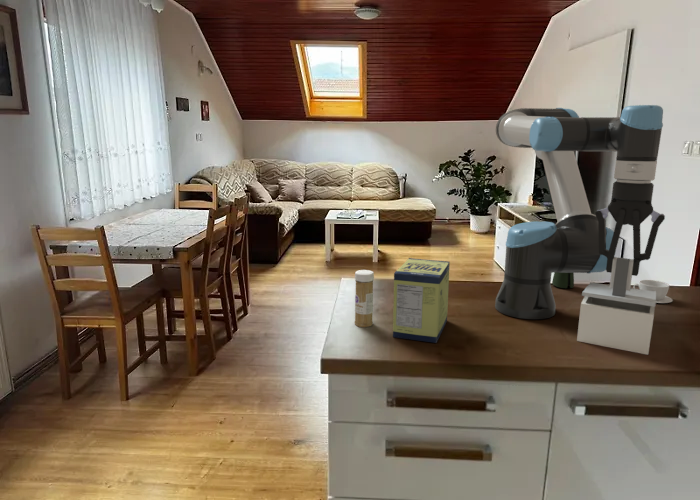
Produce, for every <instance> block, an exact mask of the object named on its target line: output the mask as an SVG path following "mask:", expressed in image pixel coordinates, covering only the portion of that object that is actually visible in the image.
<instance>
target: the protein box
mask: <svg viewBox="0 0 700 500" xmlns="http://www.w3.org/2000/svg"><path fill="white" fill-rule="evenodd" d="M450 264H451V262H450V261H447V260H446V261H444V260H436V259H435V260H432V259H425V258H424V259H421V258H412V257H411V258H410V257H408V259H407V260H406V261H405V262H403V264H402V265H401V266H400V267H399V268H398V269H397V270H395V271H394V272H393V309H392V311H393V312H392V337H393V338H398V339H405V340H412V341H421V342H428V343H432V344H433V343H434V344H437V343H438V341H439V338H440V336H441V334H442V332H443V331H444V328H445V327H446V323H447V321H448V310H449V309H448V305H449V303H448V302H449V284H450V283H449V281H450Z"/></svg>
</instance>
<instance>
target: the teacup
mask: <svg viewBox="0 0 700 500" xmlns="http://www.w3.org/2000/svg"><path fill="white" fill-rule="evenodd" d="M638 282H639V283H634V284H633V287H632V288H635V289H636V286H637V287H638V289H642V290H649V291H656V304H657V303H658V304H668V303H672V302H673V301H674V300H673V298H671V297H669V296H667V294H668V292H669V289H670V284H669V283H667V282H664V281H660V280H655V279H641V280H639V281H638Z"/></svg>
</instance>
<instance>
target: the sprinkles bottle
mask: <svg viewBox="0 0 700 500" xmlns="http://www.w3.org/2000/svg"><path fill="white" fill-rule="evenodd" d="M374 279H375V273H374V271H372V270H369V269H360V270H356V271H355V273H354V280H355V298H354V312H355V313H354V326H356V327H359V328H368V327H371V326H373V324H374V323H373V313H374Z"/></svg>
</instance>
